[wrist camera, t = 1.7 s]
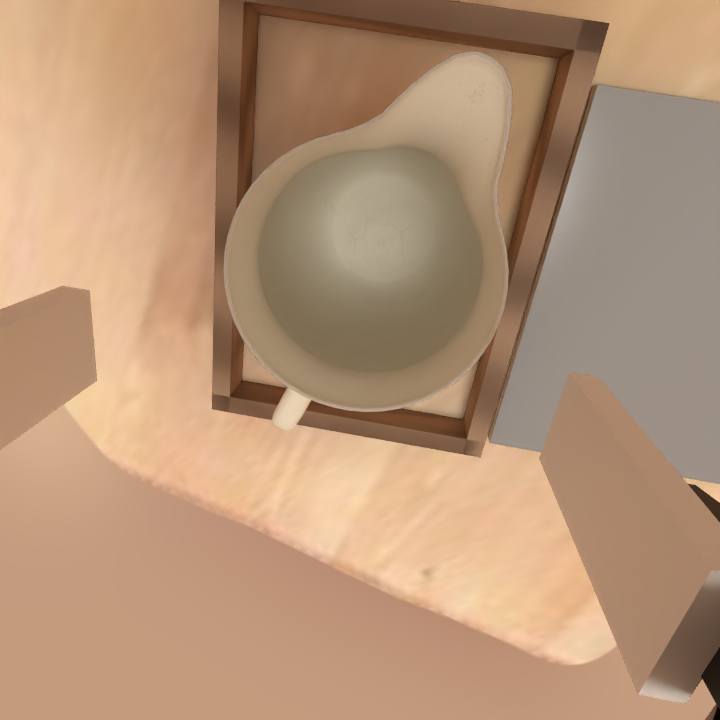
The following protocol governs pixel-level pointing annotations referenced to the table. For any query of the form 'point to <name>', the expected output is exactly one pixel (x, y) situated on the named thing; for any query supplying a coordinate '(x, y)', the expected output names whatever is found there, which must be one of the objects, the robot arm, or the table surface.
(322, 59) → the table surface
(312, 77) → the table surface
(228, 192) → the frame
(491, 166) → the pitcher
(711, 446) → the slate board
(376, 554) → the table surface
